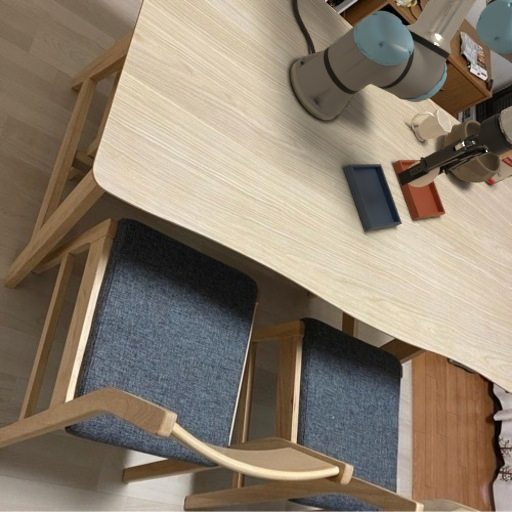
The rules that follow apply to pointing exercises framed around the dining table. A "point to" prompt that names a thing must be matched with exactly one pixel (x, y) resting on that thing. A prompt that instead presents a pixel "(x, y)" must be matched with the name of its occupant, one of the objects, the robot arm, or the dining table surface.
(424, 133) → the cup
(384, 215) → the blue tray
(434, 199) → the terracotta tray
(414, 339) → the dining table surface
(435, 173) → the egg
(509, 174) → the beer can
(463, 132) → the bowl
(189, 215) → the dining table surface
